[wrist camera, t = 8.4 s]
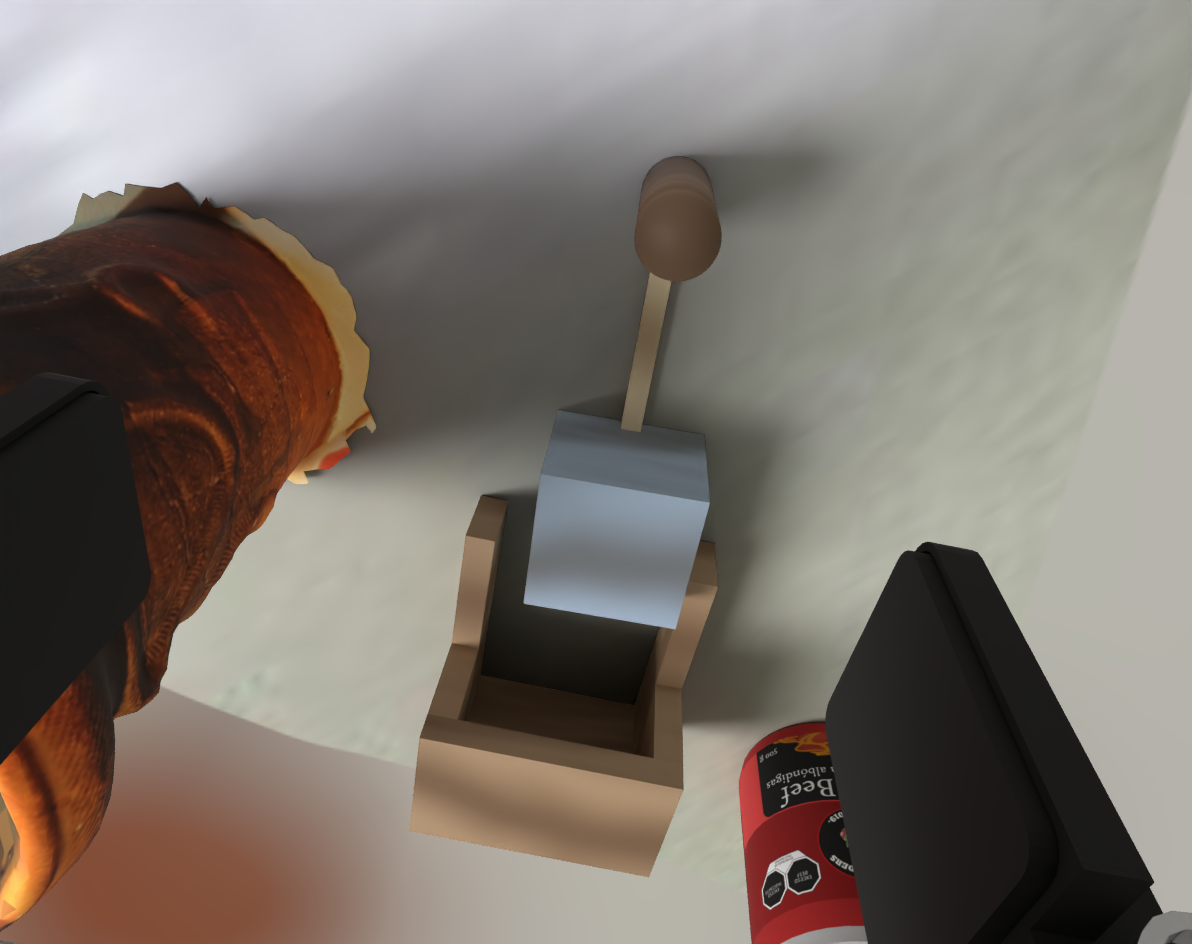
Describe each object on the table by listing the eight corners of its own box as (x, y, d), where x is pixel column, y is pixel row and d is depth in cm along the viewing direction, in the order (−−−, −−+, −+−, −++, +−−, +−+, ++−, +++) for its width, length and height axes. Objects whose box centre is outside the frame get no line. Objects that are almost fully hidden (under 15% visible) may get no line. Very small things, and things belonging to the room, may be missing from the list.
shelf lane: (481, 495, 34) (431, 623, 27) (714, 543, 34) (726, 682, 27) (454, 686, 40) (409, 831, 33) (652, 725, 40) (649, 877, 33)
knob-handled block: (595, 141, 26) (577, 175, 21) (771, 172, 26) (796, 213, 21) (541, 529, 35) (519, 620, 29) (674, 551, 35) (675, 647, 30)
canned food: (906, 728, 39) (981, 957, 30) (861, 826, 43) (915, 1055, 34) (754, 707, 39) (781, 929, 30) (724, 807, 43) (739, 1029, 34)
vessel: (258, 564, 37) (-116, 1039, 20) (-20, 346, 32) (-820, 711, 15) (460, 380, 31) (184, 821, 14) (155, 86, 27) (-808, 193, 9)
